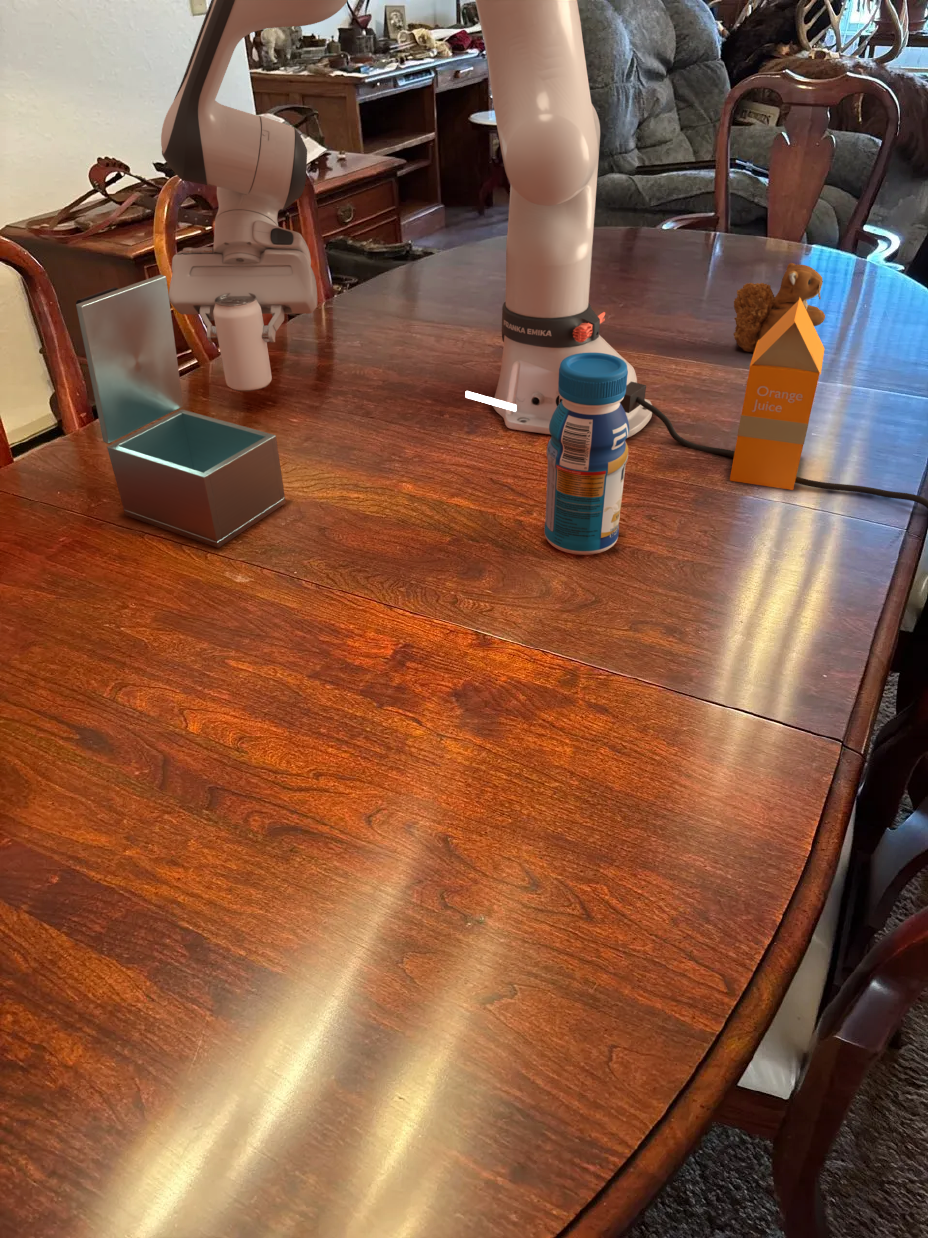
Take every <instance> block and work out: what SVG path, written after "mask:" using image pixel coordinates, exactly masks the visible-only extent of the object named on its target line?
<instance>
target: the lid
mask: <svg viewBox="0 0 928 1238" xmlns="http://www.w3.org/2000/svg"><path fill="white" fill-rule="evenodd" d="M75 308H76V311H77V316H78V321H79V326H80V331H81V332H80V333H81V335H82V336H81V337H82V341H83V346H84V351H85V357H86V362H87V366H88V372H89V376H90V381H91V385H92V386H91V387H92V391H93V396H94V403H95V406H96V407H95V408H96V412H97V417H98V422H99V427H100V431H101V437H102V441H103V442H104V443H106V444H111V443H114V441H116V440H118V439H119V440H120V439H121V438H122V437H126V436H128V435H129V434H131V433H134V431H137V430H139V429H141V428H144V427H146V426H147V425H149V424H151V423H153V422H156V421H158V420H160V419H161V418H163V417H165V416H167V415H170V414H171V413H173V412H176V411H177V410H179V409H181V408H183V407H184V401H183V393H182V385H181V379H180V378H181V377H180V369H179V362H178V354H177V347H176V341H175V340H176V339H175V333H174V324H173V318H172V311H171V302H170V300H169V286H168V281H167V276H166V275H164V274H158V275H155V276H153V277H149V278H147V279H144V280H141V281H138V282H136V283H133V284H129V285H127V286H125V287H121V288H118V287H116V286H115V287H111V288H108V289H105V290H102V291H99V292H97V293H93V294H90V295H88V296H85V297H81V298H79V299H77V300H76V301H75Z"/></svg>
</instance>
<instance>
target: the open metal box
mask: <svg viewBox="0 0 928 1238" xmlns="http://www.w3.org/2000/svg"><path fill="white" fill-rule="evenodd" d="M278 447H279V446H278V441H277V435H276V434H273V433H269V432H267V431H266V432H265V431H263V430H262V431H261V430H258V429H254V428H251V427H247V426H243V425H240V424H236V423H233V422H230V421H226V420H222V419H219V418H216V417H211V416H208V415H204V414H200V413H196V412H193V411H191V410H186V409H180V410H178V411H175V412H174V413H172V414H169V415H168V416H166V417H164V418H162V419H159V420H157V421H155V422H154V423H152V424H150V425H148V426H145V427H143V428H142V429H140V430H138V431H136V432H133V433H132V434H130V435H127V436H125V437H124V438H122V439H119V440H118V441H116V442H113V443H112V444H110V445H107V446H106V449H107V452H108V455H109V459H110V464H111V467H112V472H113V475H114V479H115V482H116V486H117V489H118V493H119V498H120V500H121V505H122V508H123V512H124V515H125V516H127V517H128V518H132V519H135V520H137V521H141V522H143V523H146V524H149V525H150V526H154V527H157V528H160V529H163V530H166V531H168V532H172V533H174V534H176V535H180V536H182V537H185V538H188V539H191V540H194V541H196V542H200V543H202V544H205V545H208V546H211V547H213V548H216V549H219V548H221V547H222V546H224V545H225V544H227V543H228V542H230V541H231V540H233V539H234V538H236V537H238V536H239V535H241V534H242V533H244V532H245V531H246V530H248V529H249V528H251V527H253V526H254V525H255V524H257V523H258V522H260V521H262V520H263V519H264V518H266V517H268V516H269V515H270V514H272V513H273V512H275V511H276V510H278V509H279V508H281V507H282V506H284V505H285V504H287V501H286V495H285V488H284V482H283V474H282V468H281V462H280V454H279V448H278Z"/></svg>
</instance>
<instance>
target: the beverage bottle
mask: <svg viewBox="0 0 928 1238" xmlns="http://www.w3.org/2000/svg"><path fill="white" fill-rule="evenodd" d="M627 376H628V370H627V364H626V363H625V362H624V361H623V360H622V359H620V358H618V357H616V356H613V355H609V354H604V353H579V354H574V355H571V356H568V357H566V358H565V359H563V360H562V362H561V364H560V368H559V381H558V391H559V395H560V397H561V399H562V401H561V402H560V404H559V405H558V406H557V408H556V410H555V411H554V413H553V415H552V418H551V420H550V424H549V431H550V434H549V435H550V436H551V437H550V438H549V441H548V443H547V446H546V459H547V467H546V469H547V470H546V472H547V473H546V493H545V494H546V496H545V498H546V499H545V516H544V517H545V519H544V536H545V539H546V541H547V542H548V543H549V544H550V545H551V546H552V547H554V548H555V549H556V550H559V551H561V552H564V553H567V554H571V555H578V556H591V555H596V554H600V553H603V552H606V551H608V550H610V549H611V548H612V547H614V546H615V544H616V543H617V542H618V538H619V531H620V518H621V510H622V501H623V493H624V492H623V491H624V483H625V482H624V481H625V473H626V466H627V462H628V459H629V446H628V443H627V441H626V440H627V439H628V438H629V437H628V435H629V422H628V418H627V415H626V413H625V411H624V409H623V407H622V405H621V403H620V402H621V401H622V400H623V398H624V396H625V393H626V386H627ZM627 437H628V438H627Z"/></svg>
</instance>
